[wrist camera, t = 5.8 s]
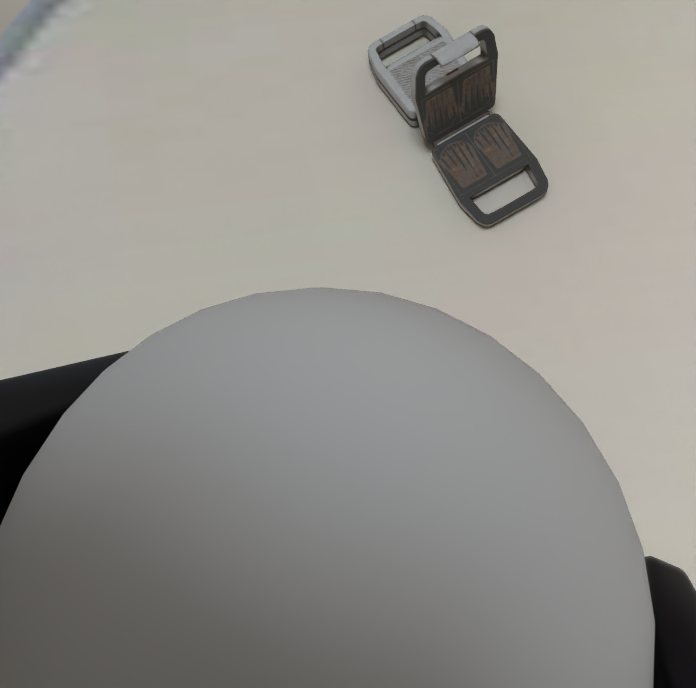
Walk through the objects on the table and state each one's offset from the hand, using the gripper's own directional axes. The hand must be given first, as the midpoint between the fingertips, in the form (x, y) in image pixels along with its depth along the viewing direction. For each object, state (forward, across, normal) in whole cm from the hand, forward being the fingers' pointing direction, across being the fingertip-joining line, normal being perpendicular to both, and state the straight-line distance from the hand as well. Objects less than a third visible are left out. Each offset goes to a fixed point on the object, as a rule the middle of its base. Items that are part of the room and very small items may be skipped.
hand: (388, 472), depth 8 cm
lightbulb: (+4, 0, +6) cm, 7 cm away
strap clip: (+18, +4, 0) cm, 19 cm away
